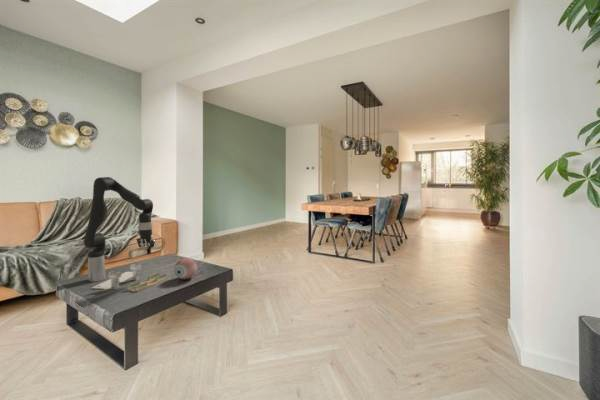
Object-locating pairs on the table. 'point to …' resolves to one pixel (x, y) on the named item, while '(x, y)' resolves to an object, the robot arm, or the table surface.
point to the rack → (146, 283)
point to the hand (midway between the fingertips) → (146, 253)
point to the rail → (144, 250)
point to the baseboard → (107, 284)
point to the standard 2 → (135, 271)
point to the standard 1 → (114, 279)
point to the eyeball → (185, 268)
